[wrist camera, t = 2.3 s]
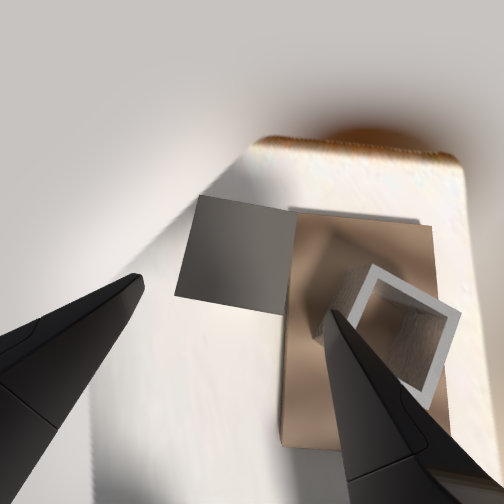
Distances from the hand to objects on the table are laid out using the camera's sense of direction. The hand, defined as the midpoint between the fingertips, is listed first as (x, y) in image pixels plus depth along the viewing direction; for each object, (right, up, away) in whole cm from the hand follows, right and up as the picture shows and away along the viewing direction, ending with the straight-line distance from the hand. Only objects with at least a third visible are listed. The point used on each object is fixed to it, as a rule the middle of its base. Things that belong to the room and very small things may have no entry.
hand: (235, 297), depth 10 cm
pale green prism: (0, 0, +10) cm, 10 cm away
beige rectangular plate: (+11, -5, +10) cm, 15 cm away
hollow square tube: (+11, -4, +9) cm, 15 cm away
